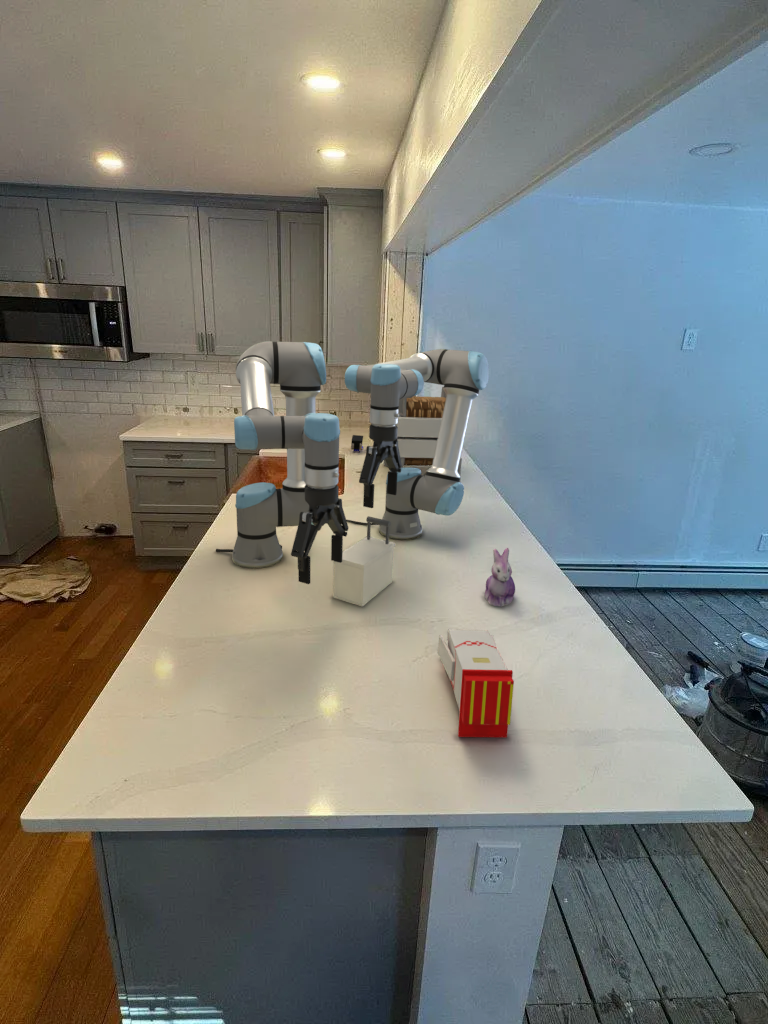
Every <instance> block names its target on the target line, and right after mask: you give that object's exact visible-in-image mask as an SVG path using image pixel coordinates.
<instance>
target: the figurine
mask: <svg viewBox="0 0 768 1024" xmlns="http://www.w3.org/2000/svg"><path fill="white" fill-rule="evenodd" d="M492 552H493V553H492V554H493V564H492V567H491V569H490V570H491V575H490V576H489V577H488V578H487V579H486V581H485V591H484V599H485V600H486V601H487V603H488V604H489V605H491V606H494V607H504V606H508V605H510V604H511V603H512V602H513V600H514V596H515V593H516V584H515V581H514V579H513V577H512V573H513V570H512V566H511V564H510V562H509V557H510V548H509V547H505V549H504V550H503V552H502V553H501V554H500V552H499V551H498V549H497V548H493V549H492Z"/></svg>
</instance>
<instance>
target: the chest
mask: <svg viewBox="0 0 768 1024" xmlns="http://www.w3.org/2000/svg"><path fill="white" fill-rule="evenodd" d="M394 555H395V547H394V548H393V549H391V550H390V551H388V552H387V553H386V554H384V555H383V556H382V557H380V558H379V559H377V560H376V561H375V562H373V563H372V564H371V565H369V566H368V567H366V568H365V569H360V568H357V567H353V566H350V565H346V564H342V563H339V562H335V561H333V574H332V575H333V579H332V580H333V581H332V598H333V599H336V600H340V601H343V602H347V603H349V604H353V605H355V606H359V607H364V606H365V605H366V604H367V603H369V602H370V601H371V600H372V599H373V598H374V597H376V596H377V595H378V594H380V593H381V592H382V591H383V590H384V589H386V588H387V587H388V586H389V585H390V584H392V583H393V577H394V576H393V575H394V573H393V572H394V557H395V556H394Z"/></svg>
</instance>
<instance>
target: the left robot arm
mask: <svg viewBox="0 0 768 1024" xmlns="http://www.w3.org/2000/svg"><path fill="white" fill-rule="evenodd" d="M235 377H236V380H237V382H238V383H239V385H240V400H241V401H240V402H241V403H240V404H241V415H238V416H236V417H234V419H233V428H234V429H233V430H234V445H235V447H236V449H238V450H251V451H256V450H259V451H260V450H281V449H282V450H286V475H287V476H286V478H285V479H284V480H283V481H282V482H281V483H282V487H280V488H277V487H276V485H275V484H274V483H271V482H264V481H263V482H255V483H250V484H247V485H244V486H242V487H240V489H239V488H238V490H237V492H236V494H235V505H234V506H235V510H236V532H237V535H236V539H235V543H234V546H233V549H232V548H216V549H215V552H216V553H231V556H232V557H231V559H232V562H233V563H234V564H235V565H236V566H238V567H242V568H244V569H246V568H247V569H264V568H265V569H266V568H269V567H272V566H276V565H278V564H280V562H282V560H283V558H284V552H283V545H282V544H280V541H279V538H278V535H277V528H282V527H297V529H296V533H295V536H294V540H293V543H292V548H291V551H290V552H291V553H290V556H291V557H294V558H297V570H298V582H299V583H301V584H306V585H310V584H311V556H310V555H309V554H310V551H311V549H312V547H313V544H314V542H315V539H316V537H317V534H318V532H319V531H321V529H322V527H323V526H324V525H328V527H329V528H330V530H331V532H332V533H333V534H331V539H330V540H331V541H330V543H331V544H330V549H331V550H330V561H332V562H334V561H336V562H340V563H341V562H342V551H343V546H344V544H343V543H344V537H345V538H346V537H347V536H348V531H349V524H348V522H347V521H346V520H347V518H346V514H345V512H344V508H343V498H339V489H340V488H339V487H340V486H339V485H338V484H339V477H340V473H339V471H340V470H339V469H340V468H339V466H340V435H341V429H340V418H339V417H338V416H337V415H335V414H332V413H326V412H319V413H318V412H316V410H317V409H316V398H317V396H318V395H319V394H320V393H321V390H322V389H321V387H322V386H324V385H326V384H327V368H326V361H325V355H324V352H323V349H322V347H321V346H320V345H319V344H318V343H315V342H308V341H307V342H306V341H271V340H266V341H261V342H258V343H255V344H253V345H251V346H250V347H248V348H247V349H246V350H245V351H244V352H243V353H242V354H240V356H239V358H238V360H237V362H236V364H235ZM271 384H272V385H279V390H280V392H281V394H283V395H284V397H285V415H275V409H274V404H273V403H274V402H273V395H272V389H271V388H272V387H271Z"/></svg>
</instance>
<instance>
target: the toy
mask: <svg viewBox="0 0 768 1024" xmlns="http://www.w3.org/2000/svg"><path fill="white" fill-rule="evenodd" d="M446 640H447V643H446V641H445V639H444V636H443V635H442V634H439V637H438V646H437V656H438V657H439V659H440V661H441V663H442V666H443V668H444V670H445V672H446V674H447V677H448V679H449V681H450V684H451V687H452V690H453V693H454V697H455V701H456V705H457V708H458V711H459V714H458V715H459V716H458V730H457V731H458V732H457V737H458V738H508V731H509V726H510V725H511V717H512V707H513V697H514V696H513V695H514V684H515V680H514V679H513V673H514V671H513V670H512V669H508V667H507V665H506V662H505V661H504V659H503V658H502V655H501V653H500V651H499V649H498V647H497V643H496V639H495V637H494V635H493V634H491V632H490V631H489V629H467V628H466V629H465V628H463V629H461V628H460V629H459V628H448V630H447V639H446Z"/></svg>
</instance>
